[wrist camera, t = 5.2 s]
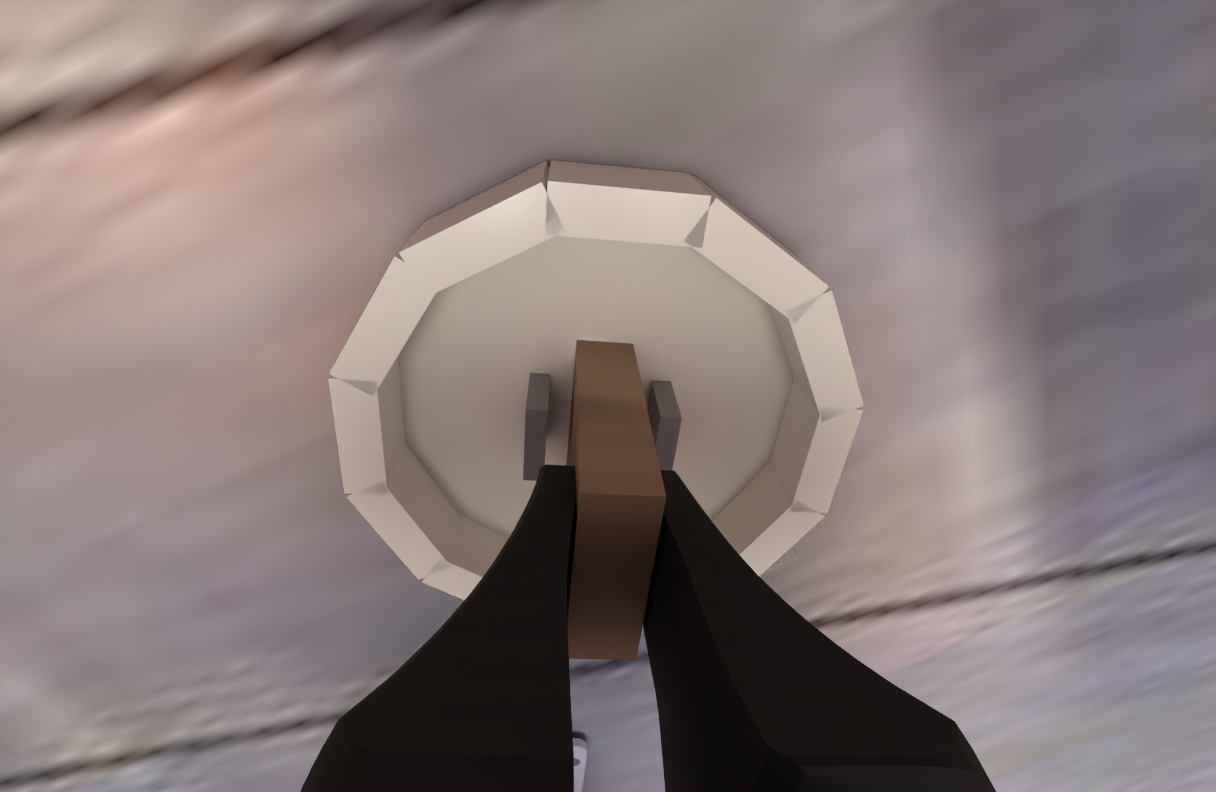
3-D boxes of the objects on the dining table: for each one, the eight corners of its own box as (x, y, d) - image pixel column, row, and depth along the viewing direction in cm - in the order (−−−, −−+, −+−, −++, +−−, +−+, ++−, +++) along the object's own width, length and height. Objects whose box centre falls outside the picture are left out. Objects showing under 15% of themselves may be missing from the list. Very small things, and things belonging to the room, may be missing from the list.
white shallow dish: (762, 568, 20) (785, 630, 18) (386, 556, 19) (362, 621, 17) (876, 191, 14) (931, 215, 12) (341, 140, 13) (296, 157, 11)
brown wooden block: (615, 473, 17) (636, 660, 12) (565, 471, 17) (563, 658, 12) (633, 343, 15) (666, 496, 10) (576, 339, 15) (579, 492, 10)
